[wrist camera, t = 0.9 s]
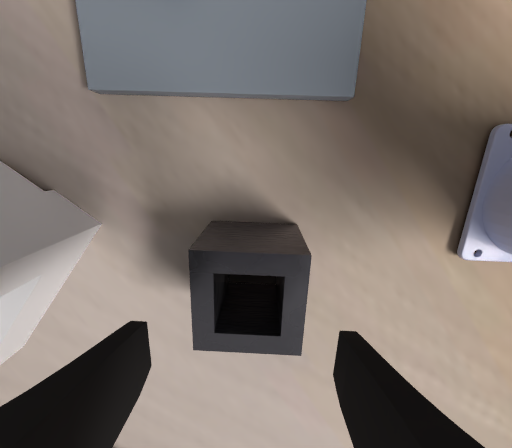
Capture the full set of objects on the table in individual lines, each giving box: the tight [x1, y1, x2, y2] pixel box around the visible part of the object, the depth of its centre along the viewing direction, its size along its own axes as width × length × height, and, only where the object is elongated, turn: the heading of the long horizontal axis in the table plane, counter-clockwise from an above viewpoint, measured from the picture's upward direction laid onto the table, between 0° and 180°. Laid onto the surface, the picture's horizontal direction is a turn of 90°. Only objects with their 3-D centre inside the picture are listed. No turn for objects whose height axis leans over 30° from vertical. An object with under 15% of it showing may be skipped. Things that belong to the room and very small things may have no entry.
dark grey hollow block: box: [189, 221, 311, 356], centre depth 14 cm, size 6×6×5 cm
